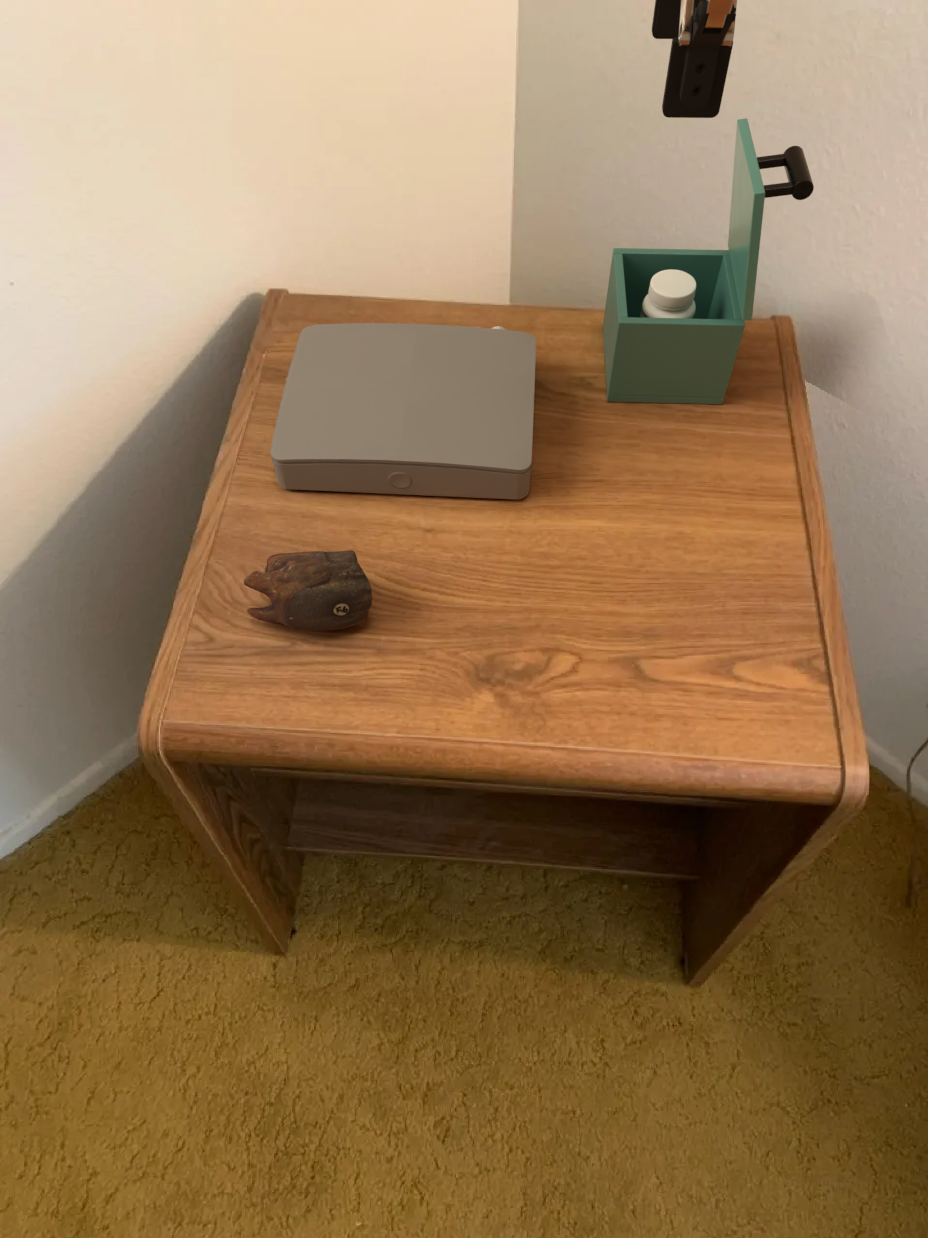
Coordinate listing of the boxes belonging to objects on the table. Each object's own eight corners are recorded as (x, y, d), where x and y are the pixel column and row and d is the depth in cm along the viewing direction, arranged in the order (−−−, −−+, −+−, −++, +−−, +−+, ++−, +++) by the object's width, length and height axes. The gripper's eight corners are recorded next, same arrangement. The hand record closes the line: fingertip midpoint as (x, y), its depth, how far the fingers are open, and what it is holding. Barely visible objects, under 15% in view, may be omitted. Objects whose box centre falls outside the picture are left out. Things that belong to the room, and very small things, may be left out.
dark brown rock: (225, 587, 67) (359, 567, 66) (246, 548, 73) (370, 529, 71) (249, 656, 70) (378, 638, 69) (268, 614, 76) (387, 596, 74)
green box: (606, 401, 85) (618, 322, 78) (602, 327, 91) (613, 247, 84) (722, 404, 85) (745, 325, 77) (710, 329, 91) (731, 249, 83)
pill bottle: (688, 349, 88) (706, 272, 81) (677, 381, 85) (695, 304, 78) (639, 338, 89) (653, 261, 82) (627, 369, 86) (640, 292, 79)
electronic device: (312, 346, 90) (304, 302, 86) (534, 354, 89) (537, 310, 85) (276, 492, 79) (265, 450, 75) (528, 503, 78) (531, 461, 74)
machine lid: (754, 193, 68) (824, 184, 67) (737, 118, 74) (800, 110, 73) (742, 321, 77) (803, 314, 76) (727, 245, 83) (784, 239, 82)
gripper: (870, -274, 37) (763, 150, 51) (803, -367, 47) (729, 10, 61) (680, -272, 37) (626, 149, 51) (653, -364, 47) (614, 10, 61)
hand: (682, 73), depth 56 cm, fingers open, 9 cm apart
